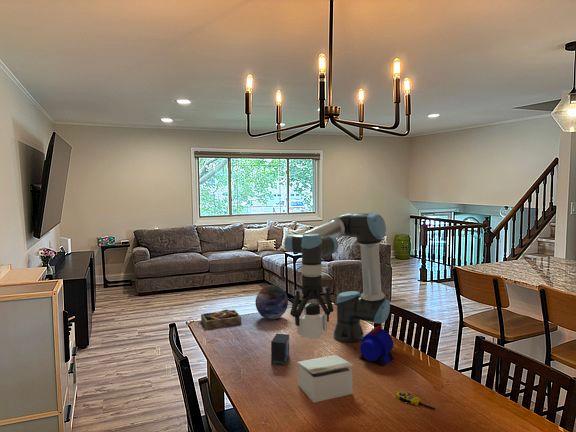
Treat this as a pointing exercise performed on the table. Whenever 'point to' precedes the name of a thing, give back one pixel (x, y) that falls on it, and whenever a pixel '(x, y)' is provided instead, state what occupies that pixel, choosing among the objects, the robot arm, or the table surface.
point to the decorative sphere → (271, 302)
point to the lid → (324, 364)
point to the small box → (280, 349)
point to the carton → (325, 383)
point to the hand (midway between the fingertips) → (312, 331)
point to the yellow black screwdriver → (410, 399)
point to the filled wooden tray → (220, 321)
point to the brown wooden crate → (221, 315)
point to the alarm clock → (377, 346)
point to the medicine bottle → (312, 321)
